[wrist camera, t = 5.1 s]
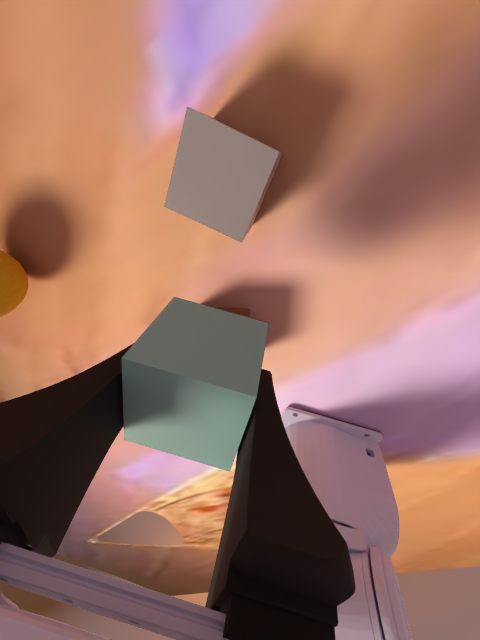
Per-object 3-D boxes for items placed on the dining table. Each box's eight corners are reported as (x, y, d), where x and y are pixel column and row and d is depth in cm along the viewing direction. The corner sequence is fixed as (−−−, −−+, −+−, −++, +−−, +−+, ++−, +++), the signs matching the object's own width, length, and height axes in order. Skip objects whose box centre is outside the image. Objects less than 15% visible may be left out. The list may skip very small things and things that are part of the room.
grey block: (283, 152, 16) (279, 152, 12) (252, 224, 19) (241, 242, 15) (213, 118, 16) (187, 106, 12) (191, 195, 18) (164, 206, 14)
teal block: (268, 323, 12) (256, 397, 9) (246, 390, 15) (229, 471, 11) (174, 296, 13) (121, 358, 9) (167, 367, 15) (124, 439, 11)
